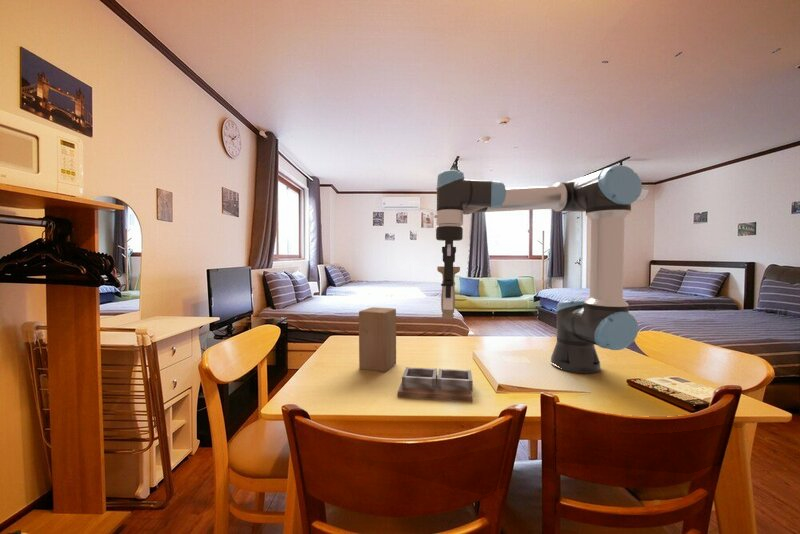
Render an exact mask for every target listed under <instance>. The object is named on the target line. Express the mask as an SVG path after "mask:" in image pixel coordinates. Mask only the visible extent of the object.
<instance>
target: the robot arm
mask: <svg viewBox="0 0 800 534" xmlns="http://www.w3.org/2000/svg"><path fill="white" fill-rule="evenodd" d="M436 180H437V183H436V214H434V215H433V216H434V218H435V219H436V225H437V227H436V229H435V239H436V240H437V241H444V246H441V253H442V263H444V264H443V266H444V281H443V284H442V283H441V284H440V286H441V287H442V286H443V309H446V310H453V267H454V263H455V262H456V253H457V246H454V241H455V242H456V241H462V240H463V238H464V237H463V236H464V235H463V231H464V229H463V227H462V226H463V225H464V215H470V214H475V213H476V214H477V213H490V212H510V211H512V212H513V211H532V210H535V211H536V210H537V211H538V210H553V211H554V212H579V213H580V212H585V216H586V217H587V218H588V219H590V220H591V221H590V258H589V259H590V261H589V263H590V264H589V266H590V267H589V269H590V270H589V297H587V298H586V299H585V300H561V301H559V302H558V303H557V305H556V343H555V345H554V349H553V351H552V353H551V357H550V363H551V362H552V363H554V364H556V365H557V366H559V367H560V368H562V369H563V370H562V371H565V372H570V373H576V374H595V373H599V372H600V371H601V361H600V359H599V355H598V353H597V350H596V349H597V348H596V347H595V345H596V346H597V347H599V348H603V349H606V350H610V351H621V350H625V349H626V348H627V347H630V345H631V344H632V343H634V342H635V340H636V339H637V336H638V332H639V323H638V321H637V319H636V318H635V317H634V315H632V314H631V313H630V312H629V310H630V309H629V308H630V307H629V305H630V304H629V303H628V302H627V301H626V300H624V297H623V296H624V261H625V260H624V258H625V255H624V252H625V251H624V250H625V221H626V220H625V219H626V217H628V215H630V214H631V212H632V204H633V203H634V202H636V201H637V200H638V198H639V197H640V195H641V193H642V189H643V186H642V184H643V183H642V180H641V178H640V176H639V174H638V173H637V172H635V170H633V168H631V167H629V166H626V165H623V164H622V165H621V164H620V165H613V166H610V167H605V168H603V169H601V170H598V171H596V172H592V173H590V174H587V175H584V176H581V177H578V178H575V179H573V180H569V181H566V182H556V183H554V184H553V185H549V186H544V185H543V186H525V187H524V186H523V187H521V186H520V187H506V185H505V184H504V183H503V182H502V181H498V180H492V179H491V180H485V179H484V180H483V179H480V180H479V179H467V178H465V174H464V172H463V171H461V170H457V169H446V170H443V171H441V172H440V173H438V174H437V179H436ZM454 284H455V285H456V282H455V281H454Z"/></svg>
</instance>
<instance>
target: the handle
mask: <svg viewBox="0 0 800 534" xmlns="http://www.w3.org/2000/svg"><path fill="white" fill-rule="evenodd" d="M436 268H437V270H436V271H437V272H439V273H440V274H441V275H442V281H441V282H442V283H441V284H443V281H444V265H443V266H437V267H436ZM460 271H461V266H453V310H446V309H443V286H441V293H440V294H441V296H440V300H441V301H440V307H441V308H440V309H441V317H442V320H448V321H449V320H453V319H454V316H455V314H454V313H455V309H456V289H455V288H456V287H455V285H456V283H455V284H454V282H455V276H456V275H457V274H458V273H460Z"/></svg>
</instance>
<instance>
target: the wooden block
mask: <svg viewBox="0 0 800 534" xmlns="http://www.w3.org/2000/svg"><path fill="white" fill-rule="evenodd" d="M358 355H359V356H358V358H359V361H358V362H359V363H358V369H360V370H365V371H366V370H367V371H374V372H380V373H386V372H387V371H389V370H390V369H391V368H392V367H393V366H394V365H396V364H397V309H396V308H391V307H389V308H388V307H369V308H365V309H362V310H359V312H358Z"/></svg>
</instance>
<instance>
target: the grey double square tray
mask: <svg viewBox="0 0 800 534" xmlns="http://www.w3.org/2000/svg"><path fill="white" fill-rule="evenodd" d="M472 375H473V374H472V371H471V369H469V370H468V369H453V368H452V369H448V368H434V367H433V368H431V367H430V368H429V367H412V366H410V367H408V366H406V367H405V369H404V371H403V373H402V376H401V382H400V385H399V387H398V390H397V397H398V398H410V399H411V398H413V399H423V400H424V399H426V400H427V399H429V400H441V401H455V402H457V401H459V402H471V403H473V392H474V391H473V390H474V389H473V388H474V387H473V386H474V385H473V376H472Z"/></svg>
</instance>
